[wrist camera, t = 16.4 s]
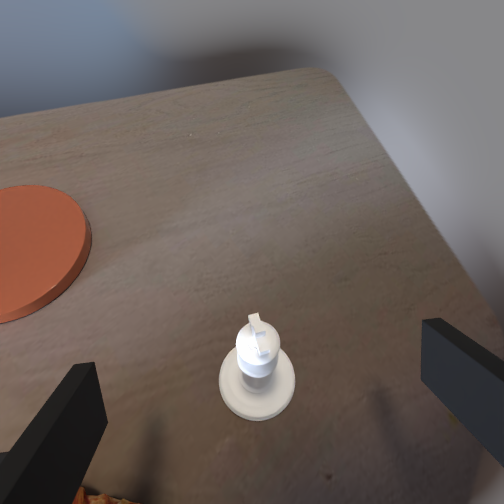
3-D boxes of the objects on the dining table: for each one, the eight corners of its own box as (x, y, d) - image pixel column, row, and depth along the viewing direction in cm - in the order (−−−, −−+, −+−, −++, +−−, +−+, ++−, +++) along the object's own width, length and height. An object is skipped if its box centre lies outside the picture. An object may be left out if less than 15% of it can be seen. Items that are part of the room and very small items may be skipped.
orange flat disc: (115, 267, 27) (110, 259, 26) (-51, 358, 24) (-65, 354, 23) (61, 174, 32) (55, 164, 31) (-83, 237, 29) (-95, 229, 28)
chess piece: (229, 432, 21) (213, 408, 13) (211, 353, 24) (187, 289, 15) (306, 406, 22) (339, 368, 14) (280, 333, 25) (294, 261, 16)
